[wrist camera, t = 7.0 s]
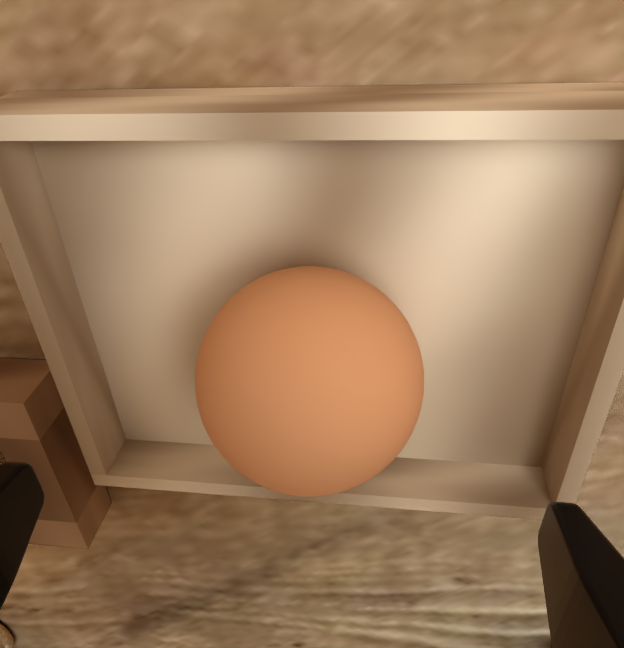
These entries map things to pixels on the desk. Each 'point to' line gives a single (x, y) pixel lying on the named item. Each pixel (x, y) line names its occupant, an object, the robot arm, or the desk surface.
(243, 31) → the desk surface
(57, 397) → the brown flat square frame
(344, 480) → the ball
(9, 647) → the sprinkles bottle
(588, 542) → the robot arm
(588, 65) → the desk surface
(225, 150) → the tray
